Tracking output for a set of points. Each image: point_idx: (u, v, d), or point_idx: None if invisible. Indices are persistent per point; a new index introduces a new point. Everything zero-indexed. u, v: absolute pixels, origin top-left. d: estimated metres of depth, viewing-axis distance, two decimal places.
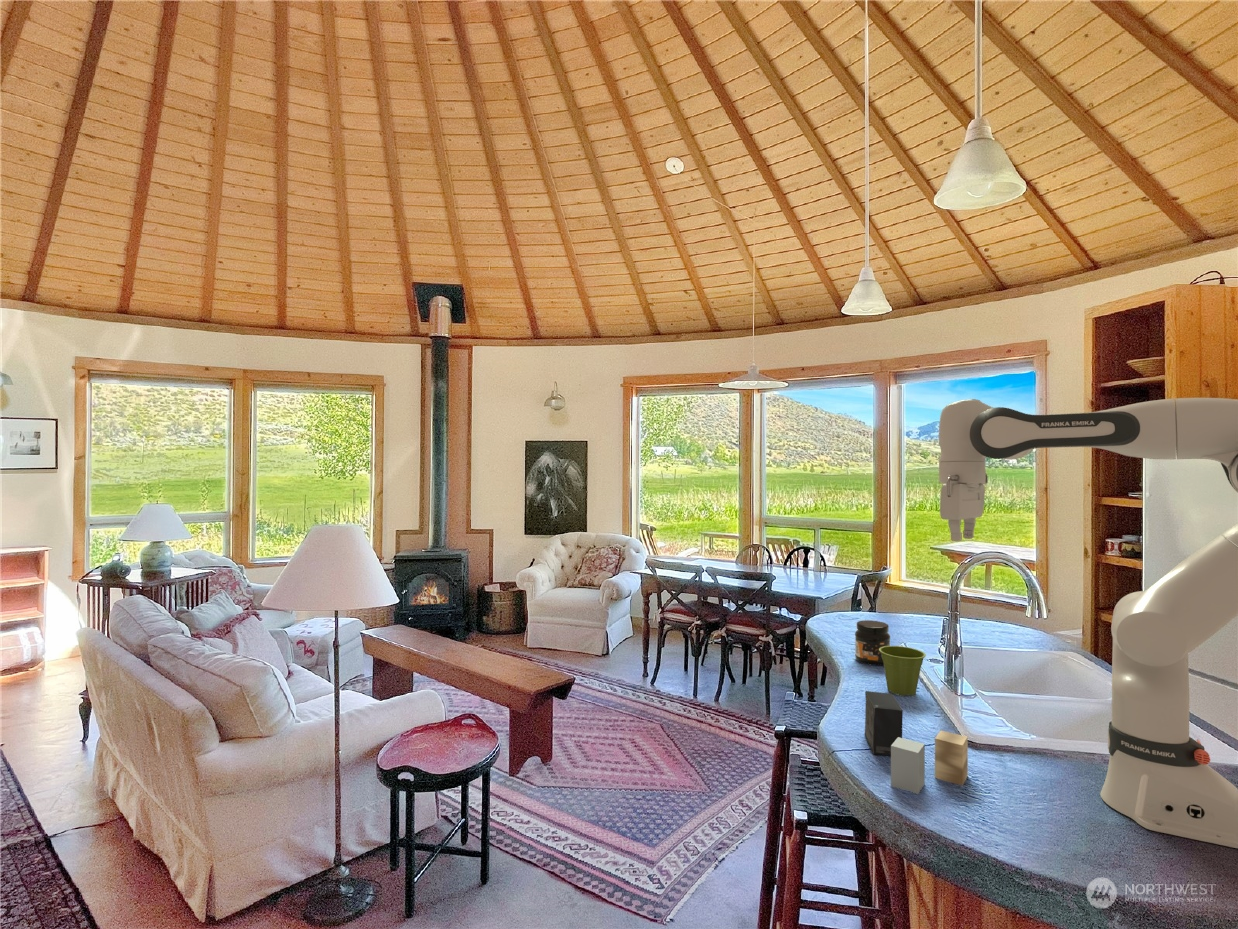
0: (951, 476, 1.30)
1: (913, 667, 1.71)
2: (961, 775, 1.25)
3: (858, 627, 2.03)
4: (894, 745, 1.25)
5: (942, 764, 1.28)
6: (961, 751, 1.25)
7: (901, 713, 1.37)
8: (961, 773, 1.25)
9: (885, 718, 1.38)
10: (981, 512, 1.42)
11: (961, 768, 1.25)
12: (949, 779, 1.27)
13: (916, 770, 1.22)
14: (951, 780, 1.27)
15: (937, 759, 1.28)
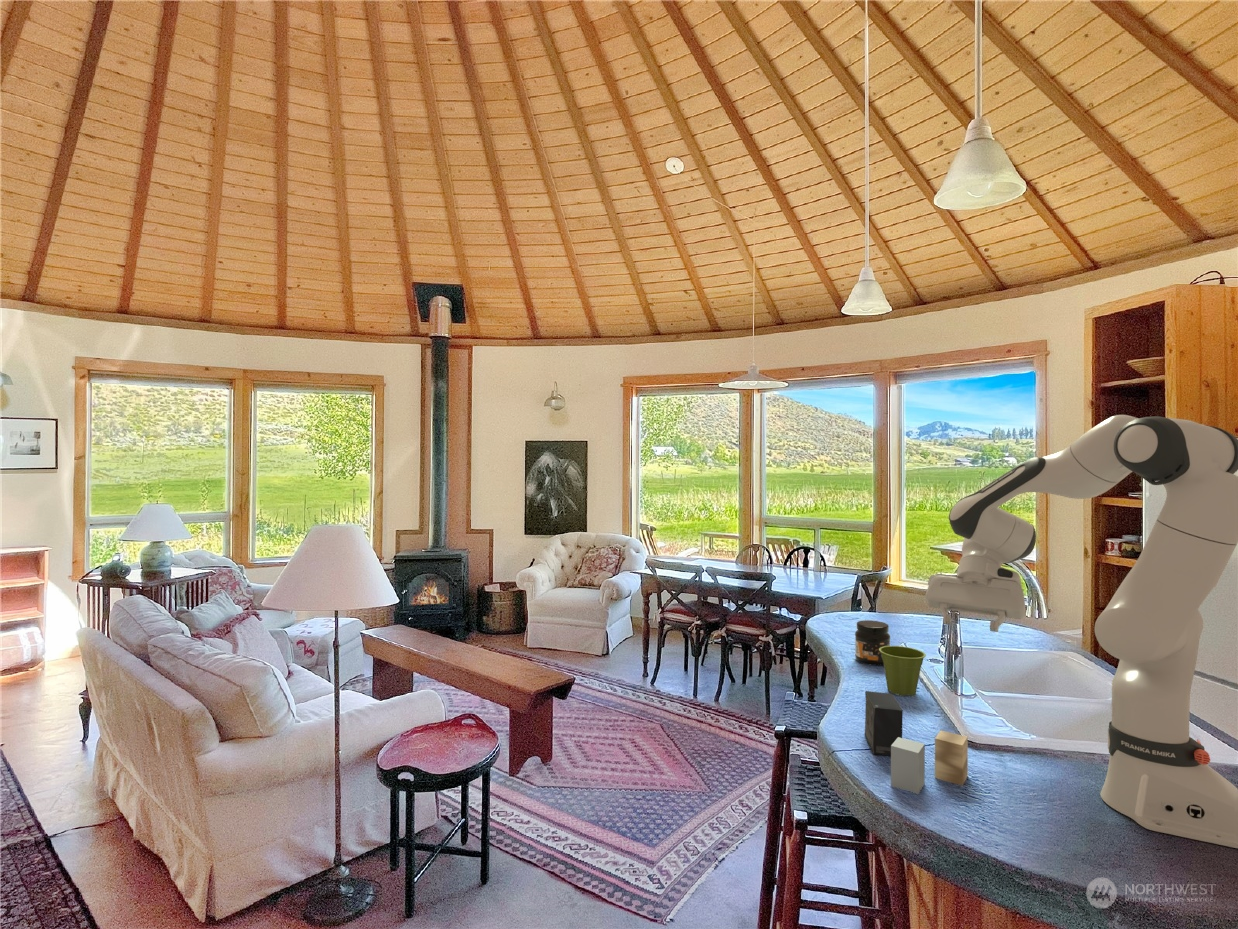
0: (937, 573, 1.56)
1: (913, 667, 1.71)
2: (961, 775, 1.25)
3: (858, 627, 2.03)
4: (894, 745, 1.25)
5: (942, 764, 1.28)
6: (961, 751, 1.25)
7: (901, 713, 1.37)
8: (961, 773, 1.25)
9: (885, 718, 1.38)
10: (1014, 606, 1.40)
11: (961, 768, 1.25)
12: (949, 779, 1.27)
13: (916, 770, 1.22)
14: (951, 780, 1.27)
15: (937, 759, 1.28)
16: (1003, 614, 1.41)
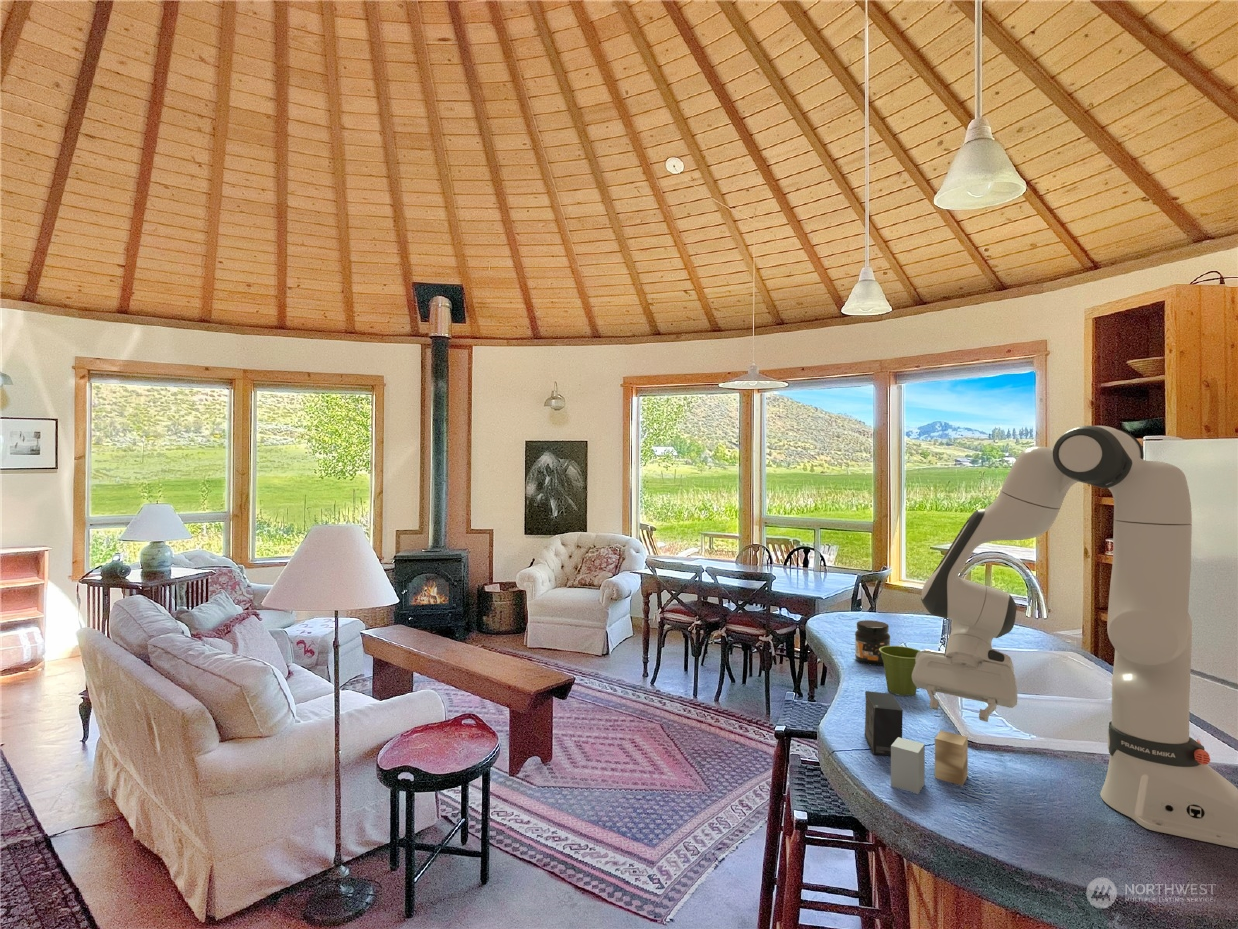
0: (924, 650, 1.47)
1: (913, 667, 1.71)
2: (961, 775, 1.25)
3: (858, 627, 2.03)
4: (894, 745, 1.25)
5: (942, 764, 1.28)
6: (961, 751, 1.25)
7: (901, 713, 1.37)
8: (961, 773, 1.25)
9: (885, 717, 1.38)
10: (1005, 694, 1.31)
11: (961, 768, 1.25)
12: (949, 779, 1.27)
13: (916, 770, 1.22)
14: (951, 780, 1.27)
15: (937, 759, 1.28)
16: (993, 702, 1.32)
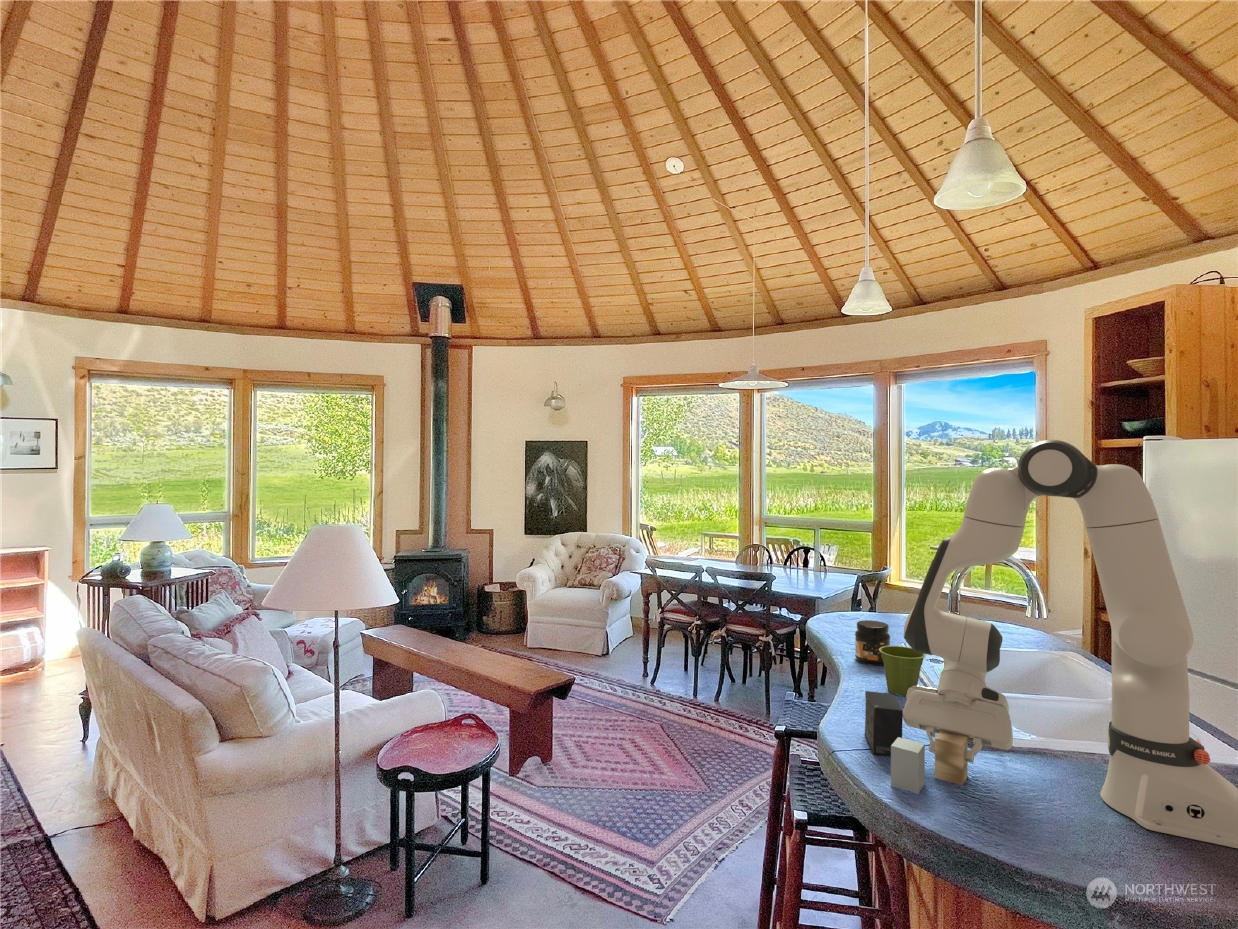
0: (916, 686, 1.41)
1: (913, 667, 1.71)
2: (961, 775, 1.25)
3: (858, 627, 2.03)
4: (894, 745, 1.25)
5: (942, 763, 1.28)
6: (961, 751, 1.25)
7: (901, 713, 1.37)
8: (961, 773, 1.25)
9: (885, 718, 1.38)
10: (1000, 736, 1.25)
11: (961, 768, 1.25)
12: (949, 779, 1.27)
13: (916, 770, 1.22)
14: (951, 780, 1.27)
15: (937, 759, 1.28)
16: (979, 743, 1.27)
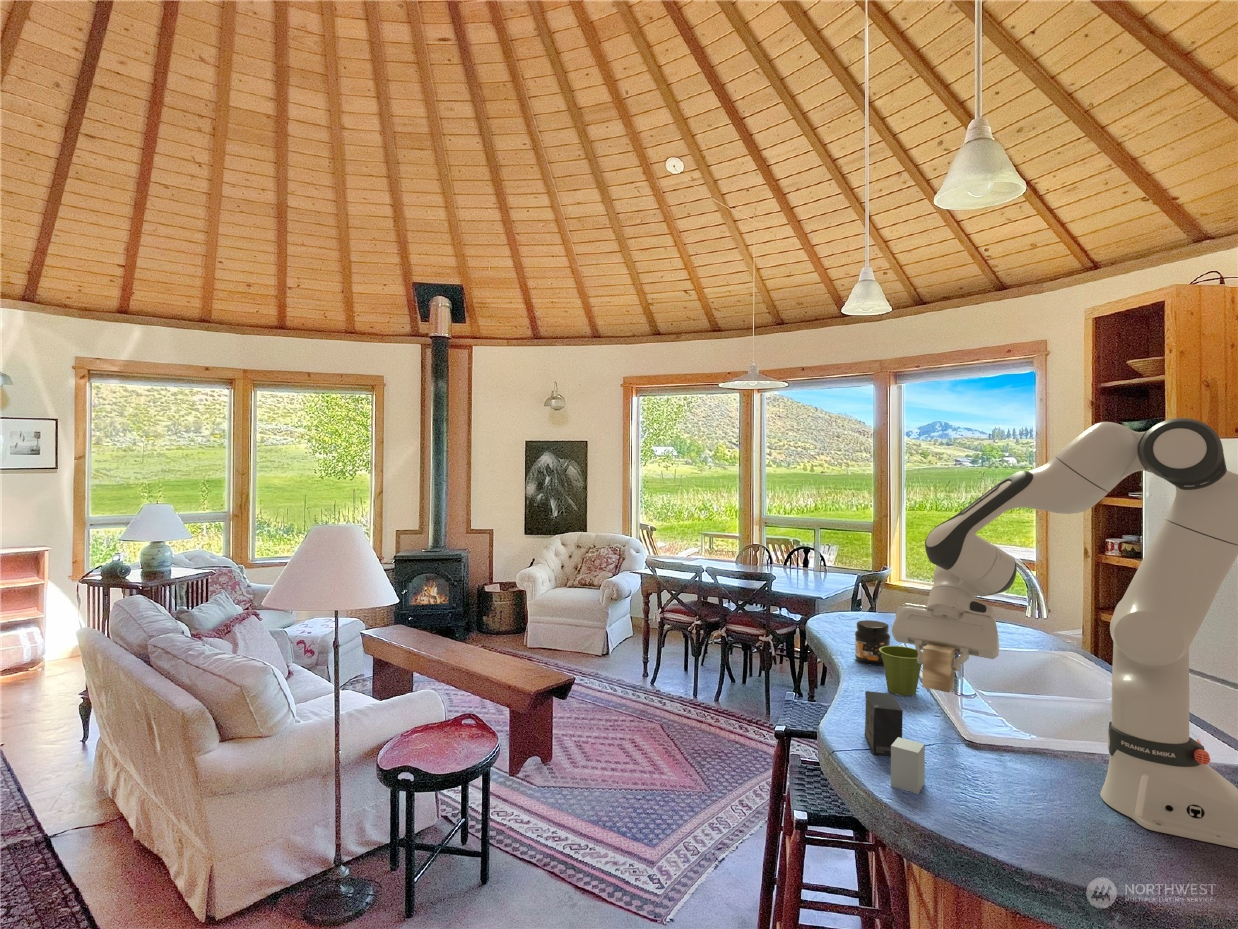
0: (905, 604, 1.43)
1: (913, 667, 1.71)
2: (948, 682, 1.28)
3: (858, 627, 2.03)
4: (894, 745, 1.25)
5: (929, 672, 1.30)
6: (948, 659, 1.28)
7: (901, 713, 1.37)
8: (948, 680, 1.28)
9: (885, 717, 1.38)
10: (986, 644, 1.27)
11: (948, 675, 1.28)
12: (936, 687, 1.29)
13: (916, 770, 1.22)
14: (938, 688, 1.29)
15: (925, 668, 1.30)
16: (966, 652, 1.29)
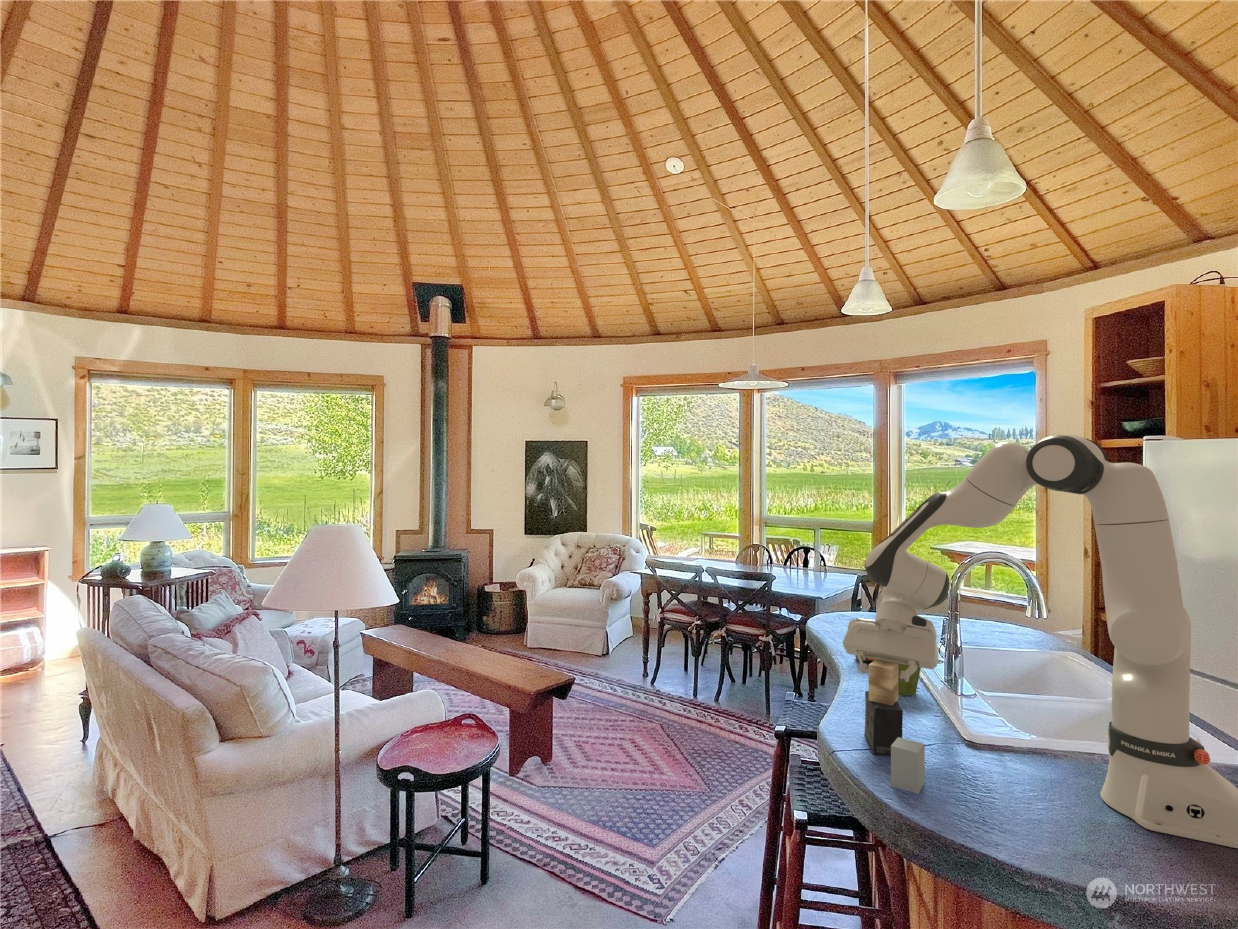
0: (856, 618, 1.55)
1: None
2: (891, 696, 1.39)
3: None
4: (894, 745, 1.25)
5: (875, 687, 1.42)
6: (891, 674, 1.39)
7: (901, 713, 1.37)
8: (891, 694, 1.39)
9: (885, 718, 1.38)
10: (925, 656, 1.39)
11: (891, 690, 1.39)
12: (881, 700, 1.41)
13: (916, 770, 1.22)
14: (882, 701, 1.41)
15: (870, 683, 1.42)
16: (913, 664, 1.40)
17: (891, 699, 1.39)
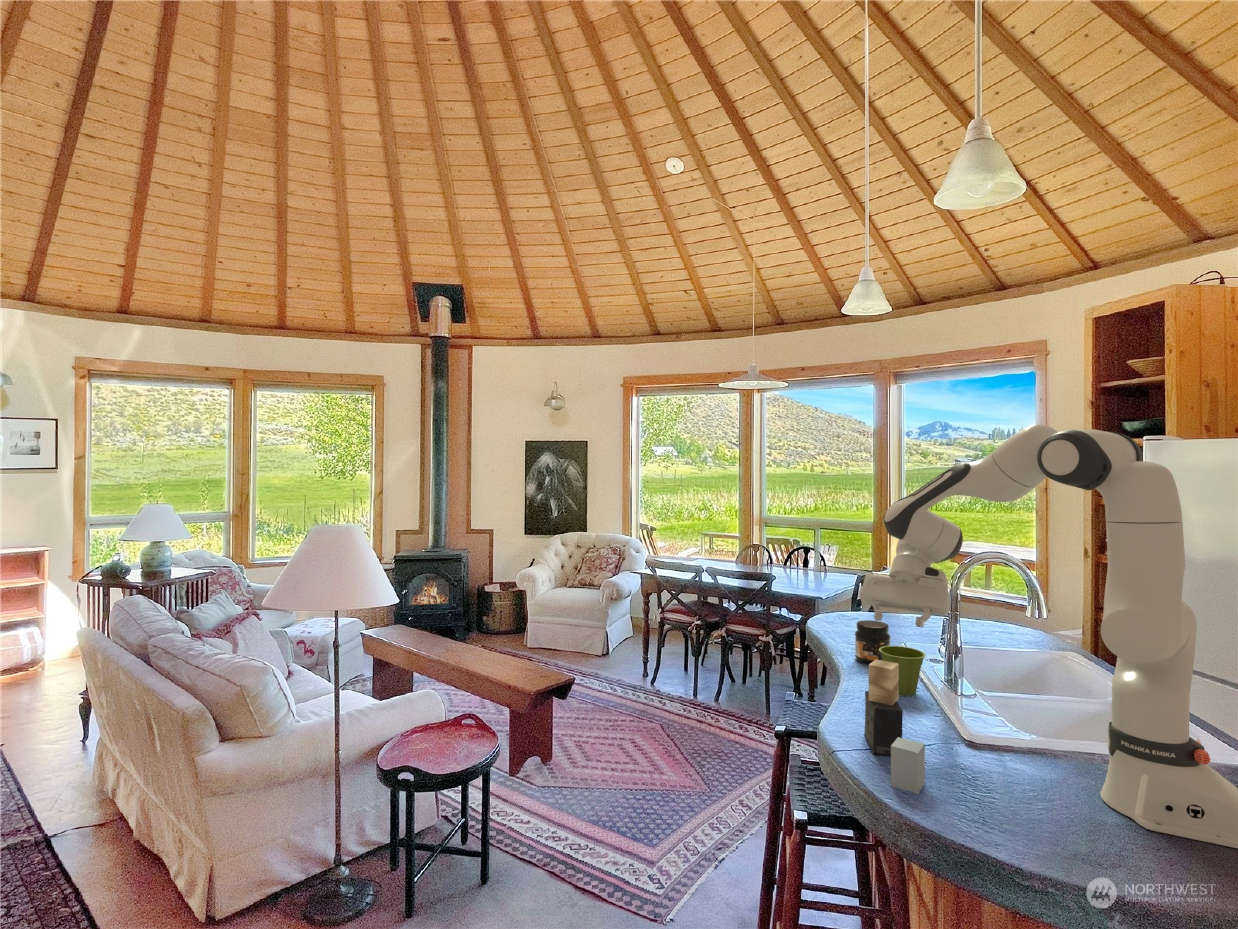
0: (872, 572, 1.65)
1: (913, 667, 1.71)
2: (891, 696, 1.39)
3: (858, 627, 2.03)
4: (894, 745, 1.25)
5: (875, 687, 1.42)
6: (891, 674, 1.39)
7: (901, 713, 1.37)
8: (891, 694, 1.39)
9: (885, 717, 1.38)
10: (938, 603, 1.49)
11: (891, 690, 1.39)
12: (881, 700, 1.41)
13: (916, 770, 1.22)
14: (882, 701, 1.41)
15: (870, 683, 1.42)
16: (928, 610, 1.49)
17: (891, 699, 1.39)
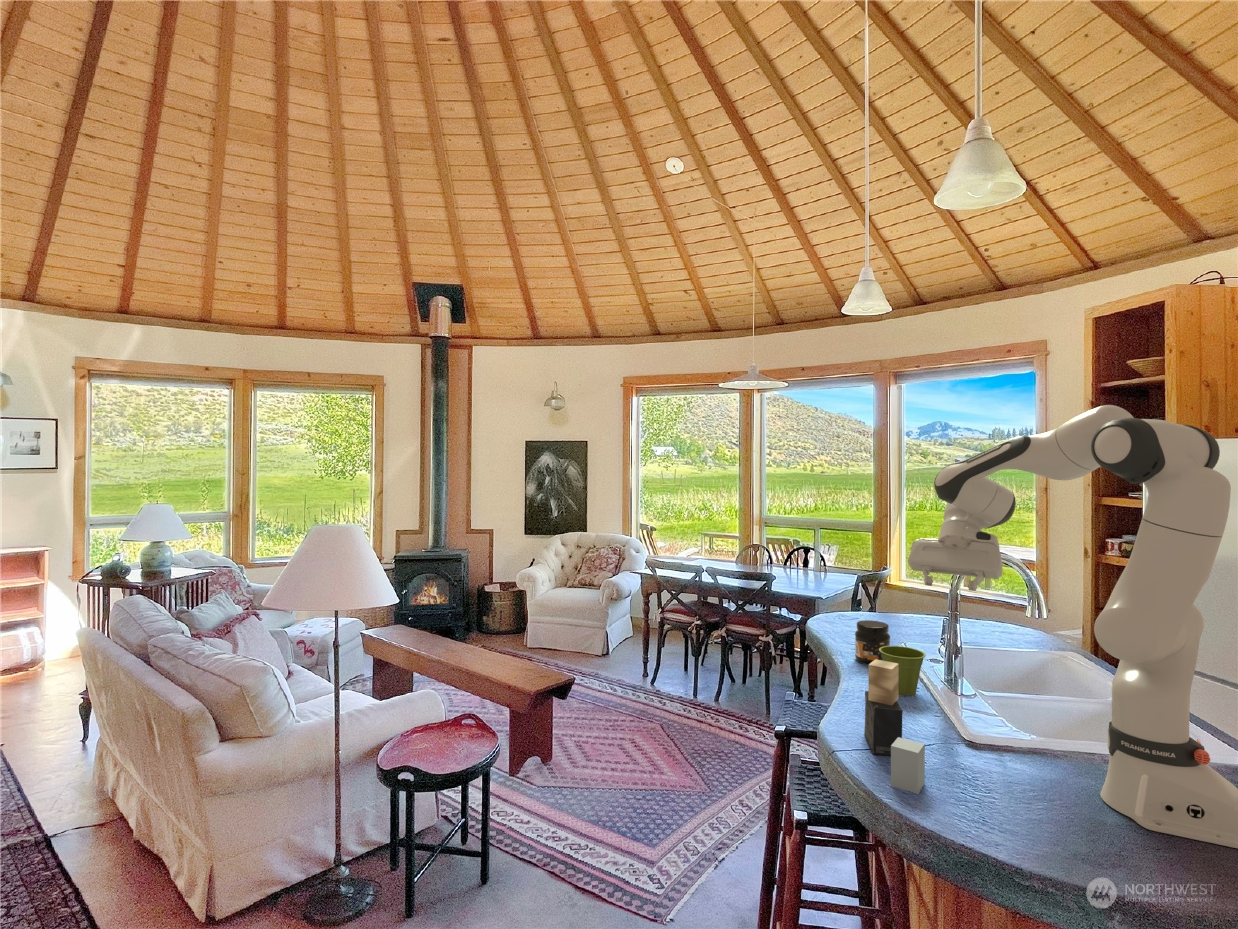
0: (919, 539, 1.63)
1: (913, 667, 1.71)
2: (890, 696, 1.39)
3: (858, 627, 2.03)
4: (894, 745, 1.25)
5: (874, 687, 1.42)
6: (890, 674, 1.39)
7: (901, 713, 1.37)
8: (890, 694, 1.39)
9: (885, 718, 1.38)
10: (991, 566, 1.47)
11: (890, 690, 1.39)
12: (880, 700, 1.41)
13: (916, 770, 1.22)
14: (882, 701, 1.41)
15: (870, 683, 1.42)
16: (981, 574, 1.48)
17: (891, 699, 1.39)
